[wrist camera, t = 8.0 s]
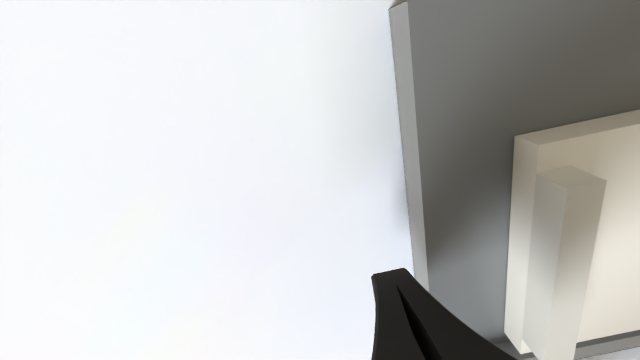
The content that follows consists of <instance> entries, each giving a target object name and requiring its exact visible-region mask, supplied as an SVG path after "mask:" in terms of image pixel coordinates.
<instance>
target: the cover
mask: <svg viewBox="0 0 640 360" xmlns="http://www.w3.org/2000/svg"><path fill="white" fill-rule="evenodd" d="M635 330H640V109H639V110H634V111H630V112H625V113H620V114H615V115H611V116H606V117H601V118H597V119H592V120H587V121H582V122H578V123H573V124H568V125H564V126H559V127H554V128H549V129H545V130H540V131H535V132H531V133H526V134H521V135H517V136H515V137H514V156H513V174H512V193H511V211H510V230H509V248H508V267H507V286H506V304H505V323H504V333H505V334H506V335H507V337H508V338H509V339H510V341H511V342H512V343H513V345H514V346H515V348H516V349H517V350H518V352H519V353H520V354H524V353H529V352H533V354H534V355H535V356H536V357H537V359H538V360H573V359H574V354H575V349H576V343H577V342H582V341H587V340H592V339H597V338H602V337H606V336H611V335H616V334H621V333H626V332H631V331H635Z"/></svg>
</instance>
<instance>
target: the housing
mask: <svg viewBox="0 0 640 360" xmlns="http://www.w3.org/2000/svg"><path fill="white" fill-rule="evenodd" d="M389 16H390V27H391V37H392V47H393V58H394V68H395V78H396V89H397V99H398V110H399V120H400V130H401V141H402V151H403V162H404V172H405V182H406V193H407V203H408V214H409V224H410V234H411V245H412V255H413V266H414V276H415V279H416V280H417V281H418V282H419V283H420V284H421V285H422V286H423V287H424V288H425V289H426V290H427V291H428V292H429V293H430V294H431V295H432V296H433V297H434V298H435V299H436V300H437V301H438V302H440V303H441V304H442V305H443V306H444V307H445V308H446V309H447V310H449V311H450V312H451V313H452V314H453V315H455V316H456V317H457V318H458V319H460V320H461V321H462V322H463V323H465V324H466V325H467V326H468V327H470V328H471V329H472V330H474V331H475V332H476V333H478V334H479V335H481V336H482V337H484V338H485V339H486V340H488V341H489V342H491V343H492V344H494V345H495V346H497V347H498V348H500V349H501V350H503V351H504V352H506V353H508V354H509V355H511V356H513V357H514V358H516V359H518V360H538V359H537V357H536V356H535V355H534V354H533V352H529V353H524V354H520V353H519V352H518V350H517V349H516V348H515V346H514V345H513V343H512V342H511V341H510V339H509V338H508V337H507V335H506V334H505V333H504V323H505V304H506V286H507V267H508V248H509V230H510V211H511V193H512V174H513V156H514V137H515V136H517V135H521V134H526V133H531V132H535V131H540V130H545V129H549V128H554V127H559V126H564V125H568V124H573V123H578V122H582V121H587V120H592V119H597V118H601V117H606V116H611V115H615V114H620V113H625V112H630V111H634V110H639V109H640V0H408V1H406V2H403V3H401V4H399V5H397V6H394V7H392V8H390V9H389ZM635 347H640V330H635V331H631V332H626V333H621V334H616V335H611V336H606V337H602V338H597V339H592V340H587V341H582V342H577V343H576V349H575V354H574V359H573V360H577V359H582V358H586V357H591V356H596V355H601V354H606V353H611V352H616V351H620V350H625V349H630V348H635Z"/></svg>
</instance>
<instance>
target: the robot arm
mask: <svg viewBox="0 0 640 360" xmlns="http://www.w3.org/2000/svg"><path fill="white" fill-rule="evenodd" d="M371 279H372V285H373V291H374V297H375V303H376V320H375V335H374V345H373V353H372V360H518V359H516V358H514V357H513V356H511V355H509V354H508V353H506V352H504V351H503V350H501V349H500V348H498V347H497V346H495V345H494V344H492V343H491V342H489V341H488V340H486V339H485V338H484V337H482V336H481V335H479V334H478V333H476V332H475V331H474V330H472V329H471V328H470V327H468V326H467V325H466V324H465V323H463V322H462V321H461V320H460V319H458V318H457V317H456V316H455V315H453V314H452V313H451V312H450V311H449V310H447V309H446V308H445V307H444V306H443V305H442V304H441V303H440V302H438V301H437V300H436V299H435V298H434V297H433V296H432V295H431V294H430V293H429V292H428V291H427V290H426V289H425V288H424V287H423V286H422V285H421V284H420V283H419V282H418V281H417V280H416V279H415V278H414V277H413V276H412V275H411V274H410V273H409V272H408V270H407V269H405V268H401V269H396V270H391V271H386V272H382V273H377V274H373V276H372V277H371Z"/></svg>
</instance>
